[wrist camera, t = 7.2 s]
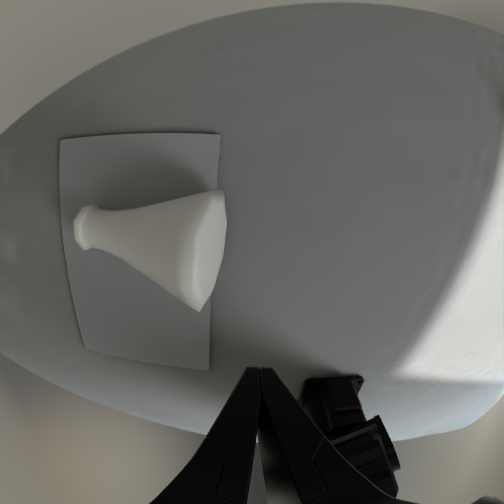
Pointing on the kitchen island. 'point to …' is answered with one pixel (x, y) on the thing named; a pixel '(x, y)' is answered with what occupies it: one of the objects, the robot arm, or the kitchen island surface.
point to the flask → (164, 241)
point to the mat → (117, 270)
